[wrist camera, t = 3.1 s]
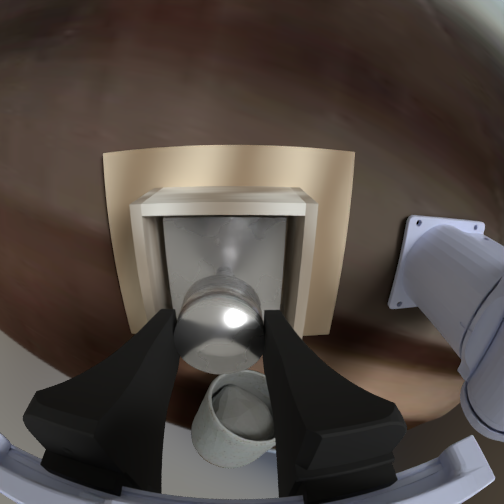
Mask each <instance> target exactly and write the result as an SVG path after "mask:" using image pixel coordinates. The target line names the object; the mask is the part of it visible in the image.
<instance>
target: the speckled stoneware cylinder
mask: <svg viewBox="0 0 504 504" xmlns="http://www.w3.org/2000/svg"><path fill="white" fill-rule="evenodd" d="M191 437H192V442H193V445H194V447H195V449H196V450H197V451H198V453H199V455H200V456H201V457H202V458H204V459H205V460H206V461H208V462H209V463H211V464H213V465H216V466H219V467H223V468H237V467H241V466H244V465H247V464H249V463H251V462H253V461H255V460H256V459H258V458H259V457H260V456H261V455H262V454H264V453H265V452H266V451H268V450H269V449H270V448H272V447H273V446H275V445H276V442H275V430H274V419H273V412H272V407H271V402H270V397H269V392H268V387H267V382H266V377H265V375H264V374H262V373H259V372H256V371H253V370H247V369H245V370H243V371H241V372H237V373H233V374H220V375H219V376H217V377H216V378H215V379H214V380H213V381H212V382H211V384H210V386H209V388H208V390H207V392H206V395H205V397H204V399H203V401H202V403H201V405H200V408H199V410H198V412H197V414H196V416H195V418H194V421H193V423H192V430H191Z"/></svg>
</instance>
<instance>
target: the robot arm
mask: <svg viewBox="0 0 504 504" xmlns="http://www.w3.org/2000/svg"><path fill="white" fill-rule="evenodd" d="M418 220H419V223H418V224H417V225H416V223H417V221H418ZM474 226H475V227H474ZM484 229H485V224H484V223H483V222H480V221H471V220H462V219H452V218H441V217H430V216H417V215H411V216H409V217H408V219H407V221H406V227H405V232H404V238H403V243H402V248H401V252H400V257H399V261H398V266H397V270H396V274H395V278H394V282H393V286H392V290H391V293H390V297H389V301H388V306H389V308H390V309H400V308H410V307H419V309H420V310H421V311H422V312H423V313H424V314H425V316H426V317H427V318H428V319H429V320H430V321H431V323H432V324H433V325H434V326H435V327H436V329H437V330H438V331H439V332H440V333H441V335H442V336H443V337H444V338H445V339H446V341H447V342H448V343H449V344H450V346H451V347H452V348H453V349H454V351H455V352H456V353H457V355H458V356H459V357H460V358H461V364H460V366H459V368H458V372H459V373H460V374H461V376H462V377H463V379H464V380H465V382H464V383H463V385H462V388H461V392H460V401H461V406H462V409H463V412H464V414H465V416H466V418H467V420H468V421H469V422H470V424H471V425H472V426H473V428H474V429H475V430H477V431H478V432H479V433H481V434H482V435H484V436H485V437H488V438H490V439H493V440H498V441H502V442H504V246H502V245H500V244H499V243H497V242H495V241H494V240H492V239H490V238H489V237H487V236H485V235H483V233H484ZM398 302H399V303H398ZM397 303H398V304H397ZM176 324H177V318H176V312H175V309H160V310H159V311H158V312H157V313H156V314H155V315H154V316H153V317H152V318H151V319H150V320H149V321H148V322H147V323H146V324H145V325H144V326H143V328H141V329H140V330H139V331H138V332H137V333H136V334H135V335H134V336H133V337H132V338H131V339H130V340H129V341H128V342H126V343H125V344H124V345H123V346H122V347H121V348H120V349H118V350H117V351H116V352H114V353H113V354H112V355H111V356H109V357H108V358H106V359H105V360H103V361H102V362H100V363H99V364H97V365H96V366H94V367H92V368H90V369H89V370H87V371H85V372H84V373H82V374H80V375H78V376H76V377H74V378H72V379H69V380H67V381H65V382H63V383H60V384H57V385H55V386H52V387H49V388H46V389H43V390H39V391H36V393H35V395H34V397H33V398H32V400H31V402H30V404H29V406H28V408H27V409H26V411H25V413H24V415H23V421H24V424H25V426H26V427H27V429H28V430H29V431H30V432H31V434H32V435H33V436H34V437H35V438H36V439H37V440H38V441H39V442H40V443H41V445H42V446H43V447H44V448H45V449H46V451H45V453H44V456H43V458H42V459H40V458H38V457H36V456H34V455H32V454H30V453H27V452H26V451H24V450H22V449H20V448H18V447H16V446H14V445H12V444H11V443H10V442H9V440H8V439H6V437H5V436H4V435H3V434H1V433H0V492H1V493H2V494H4V495H5V496H7V497H8V498H10V499H12V500H13V501H14V502H16V503H18V504H461V503H463V502H464V501H466V500H467V499H469V498H470V497H472V496H473V495H475V494H476V493H478V492H479V491H480V490H482V489H483V488H485V487H486V486H487V485H489V484H490V483H492V482H493V481H494V480H495V477H494V475H493V473H492V470H491V468H490V467H489V464H488V462H487V461H486V459H485V457H484V455H483V453H482V451H481V449H480V447H479V445H478V443H477V442H476V440H475V438H474V437H473V435H470V436H468V437H466V438H464V439H462V440H460V441H458V442H456V443H454V444H452V445H451V446H449V447H448V448H447V449H445V450H444V451H443V452H442V453H441V454H440V456H439V457H438V458H435V459H433V460H431V461H428V462H426V463H423V464H421V465H418V466H416V467H413V468H410V469H408V470H405V471H402V472H400V473H395V470H394V468H393V465H392V462H393V461H394V460H395V459H394V455H393V453H392V451H393V449H394V448H395V447H396V446H397V444H398V443H399V442H400V441H401V439H402V438H403V436H404V435H405V433H406V431H407V426H406V423H405V421H404V419H403V417H402V415H401V413H400V411H399V410H398V408H397V406H396V405H395V403H393V402H390V401H388V400H386V399H383V398H381V397H378V396H376V395H374V394H372V393H370V392H368V391H366V390H364V389H362V388H360V387H358V386H357V385H355V384H353V383H352V382H350V381H349V380H347V379H346V378H344V377H343V376H341V375H340V374H338V373H337V372H335V371H334V370H333V369H331V368H330V367H329V366H328V365H327V364H326V363H324V362H323V361H322V360H321V359H320V358H319V357H318V356H317V355H316V354H315V353H314V352H313V351H312V350H311V349H310V348H309V347H308V346H307V345H306V344H305V343H304V341H303V340H302V339H301V338H300V337H299V335H298V334H297V333H296V332H295V331H294V329H293V328H292V327H291V325H290V324H289V322H288V321H287V320H286V318H285V317H284V315H283V314H282V312H281V311H280V310H264V332H265V349H264V352H263V365H264V372H265V377H266V382H267V387H268V392H269V397H270V402H271V407H272V412H273V419H274V430H275V442H276V455H277V469H278V488H279V498H268V499H239V500H237V499H234V500H232V499H230V500H229V499H206V498H192V497H182V496H174V495H166V494H161V470H162V451H163V439H164V429H165V421H166V414H167V409H168V405H169V401H170V397H171V393H172V389H173V385H174V382H175V378H176V374H177V370H178V366H179V359H180V355H179V353H178V352H177V350H176V348H175V343H174V331H175V327H176Z"/></svg>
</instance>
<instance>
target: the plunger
mask: <svg viewBox="0 0 504 504" xmlns="http://www.w3.org/2000/svg"><path fill="white" fill-rule="evenodd" d="M163 226H164V238H165V248H166V258H167V267H168V275H169V283H170V291H171V298H172V305H173V309H175V312H176V318H177V319H178V320H177V324H176V327H175V331H174V343H175V348H176V350H177V352H178V353H179V355H180V356H181V357H182V359H183V360H184V361H186V362H187V363H188V364H189V365H191V366H192V367H194V368H196V369H198V370H201V371H204V372H207V373H211V374H233V373H237V372H241V371H243V370H245V369H248V368H249V367H251V366H252V365H254V364H255V363H256V362H257V361H258V360H259V359H260V357H261V356H262V354H263V352H264V349H265V332H264V324H263V320H264V310H280V302H281V290H282V277H283V263H284V249H285V234H286V216H285V215H168V216H164V217H163Z"/></svg>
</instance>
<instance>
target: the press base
mask: <svg viewBox="0 0 504 504" xmlns="http://www.w3.org/2000/svg"><path fill="white" fill-rule="evenodd" d="M354 158H355V152H350V151H341V150H331V149H320V148H307V147H291V146H268V145H198V146H176V147H160V148H147V149H136V150H126V151H118V152H109V153H103V163H104V178H105V190H106V200H107V209H108V218H109V225H110V232H111V239H112V246H113V252H114V258H115V263H116V268H117V274H118V279H119V284H120V288H121V293H122V297H123V302H124V306H125V310H126V314H127V318H128V322H129V326H130V330H131V333H133V334H136V333H137V332H138V331H139V330H140V329H141V328H143V326H144V325H145V324H146V323H147V322H148V321H149V320H150V319H151V318H152V317H153V316H154V315H155V314H156V313H157V312H158V311H159V310H160V309H173V305H172V298H171V291H170V283H169V275H168V267H167V258H166V248H165V238H164V226H163V217H164V216H168V215H285V216H286V234H285V249H284V263H283V277H282V290H281V302H280V311H281V312H282V314H283V315H284V317H285V318H286V320H287V321H288V322H289V324H290V325H291V327H292V328H293V329H294V331H295V332H296V333H297V334H298V335H299V337H300V338H301V339H302V336H309V335H324V334H329V331H330V327H331V322H332V317H333V312H334V307H335V302H336V297H337V292H338V286H339V281H340V275H341V269H342V263H343V256H344V250H345V243H346V235H347V228H348V220H349V212H350V203H351V193H352V183H353V171H354ZM177 320H178V319H177ZM263 324H264V320H263Z"/></svg>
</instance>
